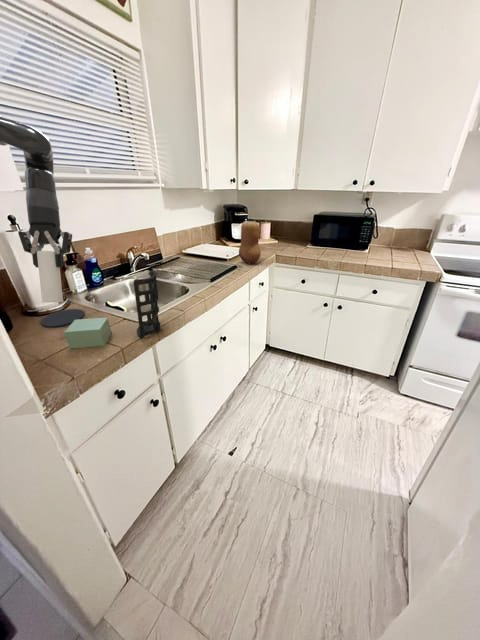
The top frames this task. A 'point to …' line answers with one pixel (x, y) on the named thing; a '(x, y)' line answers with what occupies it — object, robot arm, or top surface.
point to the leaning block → (88, 333)
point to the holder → (153, 292)
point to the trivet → (62, 318)
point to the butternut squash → (250, 242)
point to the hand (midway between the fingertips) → (49, 267)
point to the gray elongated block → (49, 277)
